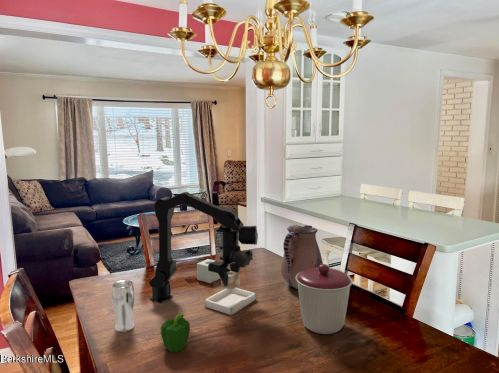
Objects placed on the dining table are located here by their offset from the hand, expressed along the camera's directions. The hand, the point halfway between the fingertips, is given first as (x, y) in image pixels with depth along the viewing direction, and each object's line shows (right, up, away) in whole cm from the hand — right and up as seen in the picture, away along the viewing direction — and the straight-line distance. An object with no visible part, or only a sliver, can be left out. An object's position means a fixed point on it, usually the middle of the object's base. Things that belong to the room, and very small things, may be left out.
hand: (230, 283), depth 137 cm
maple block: (0, -1, 0) cm, 1 cm away
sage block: (-11, -5, +25) cm, 28 cm away
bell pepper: (-15, -12, -29) cm, 34 cm away
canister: (+31, -10, -17) cm, 37 cm away
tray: (0, -8, +1) cm, 8 cm away
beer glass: (-34, -10, -17) cm, 39 cm away
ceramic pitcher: (+28, -6, +15) cm, 33 cm away
